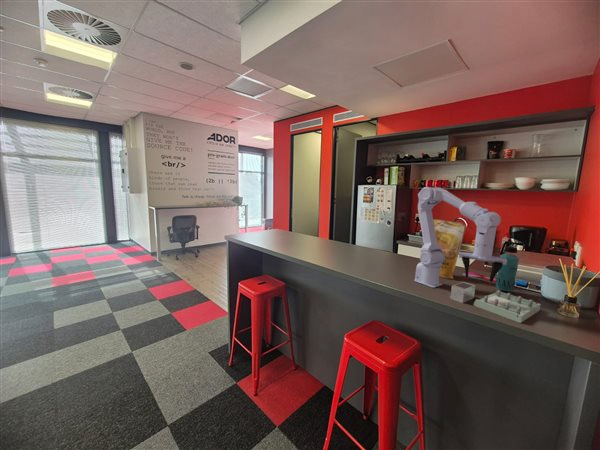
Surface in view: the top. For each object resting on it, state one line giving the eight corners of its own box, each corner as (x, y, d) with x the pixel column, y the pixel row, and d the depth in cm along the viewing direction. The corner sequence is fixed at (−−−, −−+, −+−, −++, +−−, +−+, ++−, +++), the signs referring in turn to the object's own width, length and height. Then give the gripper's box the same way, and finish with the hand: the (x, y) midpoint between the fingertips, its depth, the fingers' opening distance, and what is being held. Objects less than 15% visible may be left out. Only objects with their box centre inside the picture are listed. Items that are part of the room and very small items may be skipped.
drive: (450, 298, 100) (451, 285, 99) (461, 294, 105) (463, 281, 104) (462, 303, 96) (464, 289, 95) (473, 298, 101) (475, 285, 100)
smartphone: (497, 283, 117) (462, 273, 128) (497, 285, 117) (461, 275, 129) (502, 280, 121) (468, 271, 133) (502, 282, 121) (467, 272, 133)
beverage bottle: (490, 289, 110) (497, 245, 107) (500, 287, 112) (507, 244, 109) (507, 295, 104) (515, 249, 101) (517, 293, 106) (525, 248, 103)
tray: (473, 305, 94) (475, 295, 93) (494, 295, 103) (496, 286, 103) (520, 323, 82) (522, 311, 82) (539, 310, 92) (541, 300, 91)
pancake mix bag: (421, 268, 138) (426, 217, 133) (459, 278, 123) (467, 222, 119) (415, 270, 134) (420, 218, 129) (453, 281, 119) (461, 223, 114)
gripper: (461, 243, 94) (456, 277, 96) (510, 249, 87) (504, 286, 89) (461, 240, 100) (456, 272, 102) (507, 245, 92) (501, 280, 95)
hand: (478, 278), depth 96 cm, fingers open, 7 cm apart
